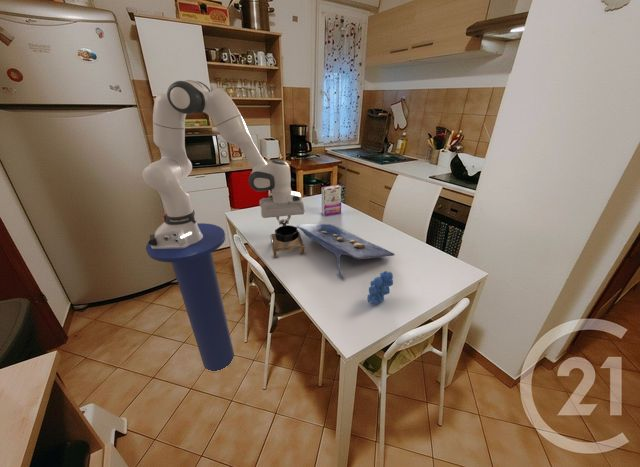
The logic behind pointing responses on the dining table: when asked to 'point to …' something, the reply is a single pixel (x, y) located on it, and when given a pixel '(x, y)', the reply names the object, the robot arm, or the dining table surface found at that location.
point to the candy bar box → (331, 200)
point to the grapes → (380, 287)
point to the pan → (286, 232)
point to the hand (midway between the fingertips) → (283, 223)
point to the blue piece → (342, 242)
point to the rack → (286, 245)
